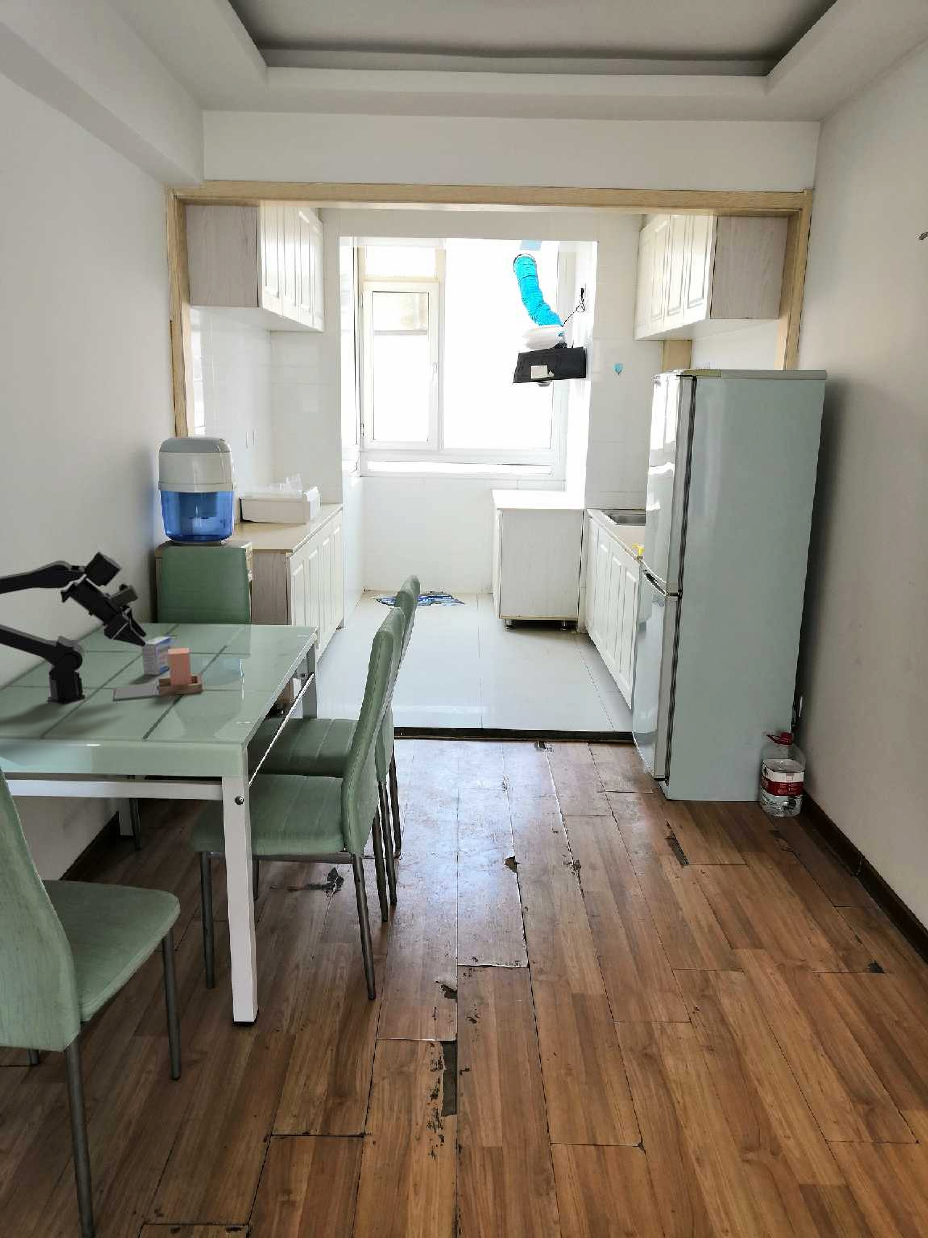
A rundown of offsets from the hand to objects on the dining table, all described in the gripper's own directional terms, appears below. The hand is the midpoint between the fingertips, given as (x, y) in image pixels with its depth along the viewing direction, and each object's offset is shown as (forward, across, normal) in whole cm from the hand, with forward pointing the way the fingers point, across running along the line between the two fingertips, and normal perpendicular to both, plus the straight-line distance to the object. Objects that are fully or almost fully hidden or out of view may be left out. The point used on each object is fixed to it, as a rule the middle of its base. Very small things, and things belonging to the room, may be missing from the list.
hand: (145, 640), depth 232 cm
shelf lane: (+15, 0, +4) cm, 15 cm away
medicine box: (+11, +18, +8) cm, 23 cm away
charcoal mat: (+7, 0, +12) cm, 14 cm away
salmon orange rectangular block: (+15, 0, +4) cm, 16 cm away
